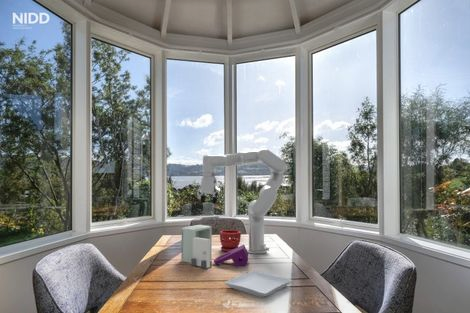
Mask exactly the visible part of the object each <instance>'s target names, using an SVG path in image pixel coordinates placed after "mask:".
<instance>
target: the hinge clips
mask: <svg viewBox="0 0 470 313" xmlns="http://www.w3.org/2000/svg"><path fill="white" fill-rule="evenodd" d="M212 262H213V261H212V260H210V267H208V268H206V261H204V260H201V266H200V267H201V268H200V269H201V270H207V269H209V268H212V267H213V266H212V265H213V264H212ZM190 265H191V267H193V268H195V267H197V266H196V259H195V258H191V263H190Z"/></svg>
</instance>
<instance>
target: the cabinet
mask: <svg viewBox="0 0 470 313" xmlns="http://www.w3.org/2000/svg"><path fill="white" fill-rule="evenodd" d="M212 232H213V231H212V225H203V224H196V225H189V226H186V227H182V228H181V259H180V260H181V262H183V263H184V262H185V263H188V264H191V258H193V238H194V237H199V238H205V239H210V259H212V253H213V252H212V239H213V238H212V235H213V234H212Z"/></svg>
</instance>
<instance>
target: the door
mask: <svg viewBox="0 0 470 313" xmlns="http://www.w3.org/2000/svg"><path fill="white" fill-rule="evenodd" d="M193 258H195V259H196V267H201V260H204V261H206V268H207V269H209V268H208V267H210V261H211V258H210V239H205V238H199V237H194V238H193ZM210 268H211V267H210Z"/></svg>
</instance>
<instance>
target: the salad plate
mask: <svg viewBox="0 0 470 313" xmlns="http://www.w3.org/2000/svg"><path fill="white" fill-rule="evenodd" d="M292 281H293V280H292V279H289V278H286V277H283V276H278V275H275V274H272V273H271V274H270V273H266V272H260V271H256V270H251V271H249V272H246V273H244V274H241V275H238V276H236V277H234V278H231V279H229V280H226V281H225V282H224V283H225V285H226V286H227V287H229V288H231V289H234V290H236V291H239V292H243V293H247V294H250V295H253V296H256V297H261V298H262V297H263V298H265V297H267V296H269V295H272V294H274V293H275V292H277V291H279V290H281V289H283V288H285V287H287V286H289V285H290V284H291V282H292Z"/></svg>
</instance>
